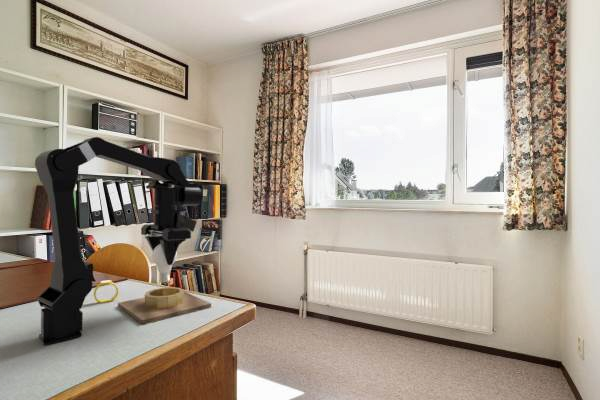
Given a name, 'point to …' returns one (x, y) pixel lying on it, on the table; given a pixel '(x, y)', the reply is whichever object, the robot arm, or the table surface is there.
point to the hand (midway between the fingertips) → (164, 263)
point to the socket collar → (164, 298)
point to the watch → (105, 284)
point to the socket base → (148, 315)
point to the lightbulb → (162, 264)
